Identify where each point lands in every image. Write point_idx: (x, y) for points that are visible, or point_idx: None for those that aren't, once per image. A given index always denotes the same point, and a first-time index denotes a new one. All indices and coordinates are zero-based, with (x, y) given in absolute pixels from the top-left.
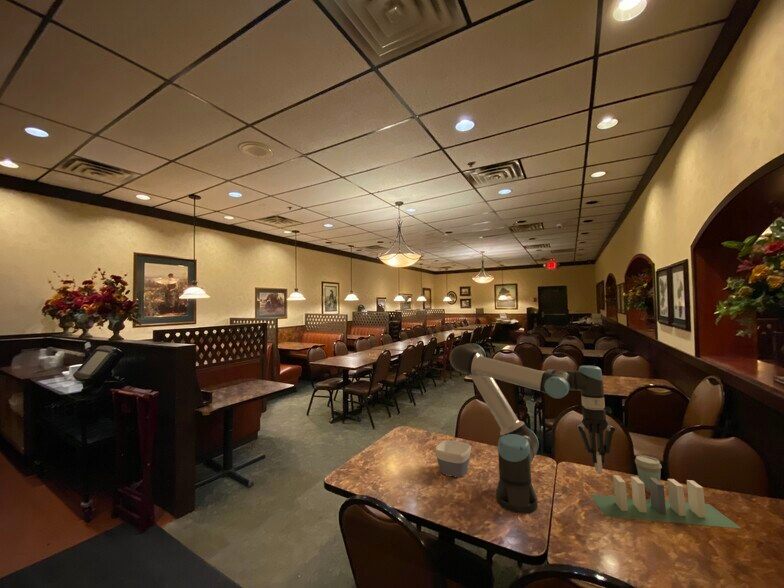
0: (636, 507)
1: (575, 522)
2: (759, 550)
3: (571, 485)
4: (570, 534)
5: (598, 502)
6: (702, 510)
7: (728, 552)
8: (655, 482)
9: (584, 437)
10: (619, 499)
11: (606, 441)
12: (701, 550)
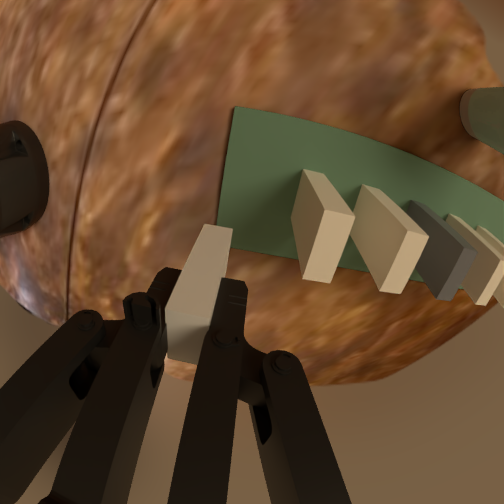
0: (354, 208)
1: (120, 260)
2: (440, 335)
3: (200, 31)
4: (102, 295)
5: (236, 165)
6: None
7: (390, 344)
8: (445, 286)
9: (25, 456)
10: (296, 222)
11: (274, 487)
12: (350, 344)
